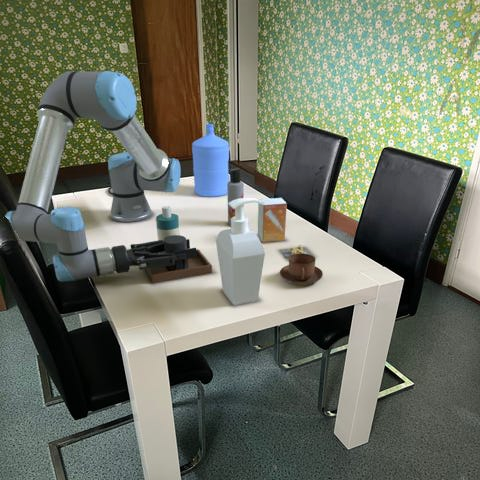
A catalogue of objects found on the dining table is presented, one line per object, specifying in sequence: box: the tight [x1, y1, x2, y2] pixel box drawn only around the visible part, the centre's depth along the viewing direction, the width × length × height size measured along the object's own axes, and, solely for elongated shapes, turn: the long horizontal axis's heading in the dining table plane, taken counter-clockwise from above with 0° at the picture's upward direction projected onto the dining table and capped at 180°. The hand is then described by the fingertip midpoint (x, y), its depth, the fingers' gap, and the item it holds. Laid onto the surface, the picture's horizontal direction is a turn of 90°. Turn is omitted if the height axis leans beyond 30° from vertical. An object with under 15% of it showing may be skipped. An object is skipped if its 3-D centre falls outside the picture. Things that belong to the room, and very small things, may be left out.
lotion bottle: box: [226, 167, 244, 227], centre depth 165 cm, size 6×6×20 cm
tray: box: [145, 248, 213, 284], centre depth 137 cm, size 13×17×2 cm
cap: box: [164, 234, 189, 271], centre depth 135 cm, size 6×6×9 cm
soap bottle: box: [215, 197, 266, 306], centre depth 117 cm, size 12×10×26 cm
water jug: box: [191, 123, 230, 198], centre depth 198 cm, size 16×16×28 cm
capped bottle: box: [155, 205, 181, 253], centre depth 144 cm, size 7×7×15 cm
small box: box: [257, 197, 288, 243], centre depth 155 cm, size 8×6×13 cm
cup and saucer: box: [279, 253, 324, 286], centre depth 130 cm, size 12×12×6 cm
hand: (192, 248), depth 136 cm, fingers closed on cap, 6 cm apart
